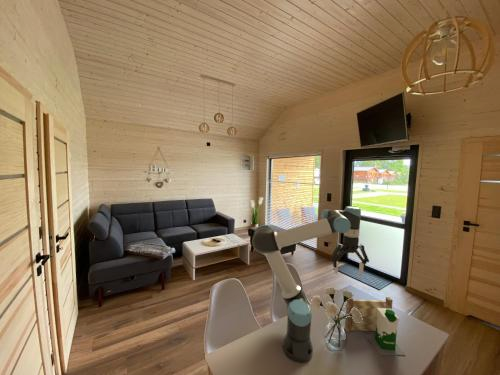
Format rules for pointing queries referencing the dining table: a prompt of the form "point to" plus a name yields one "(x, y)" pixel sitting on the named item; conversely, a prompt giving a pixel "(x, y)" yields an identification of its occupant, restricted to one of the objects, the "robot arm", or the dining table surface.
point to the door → (367, 314)
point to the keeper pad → (384, 351)
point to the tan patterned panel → (349, 306)
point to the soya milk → (386, 328)
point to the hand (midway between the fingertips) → (348, 273)
